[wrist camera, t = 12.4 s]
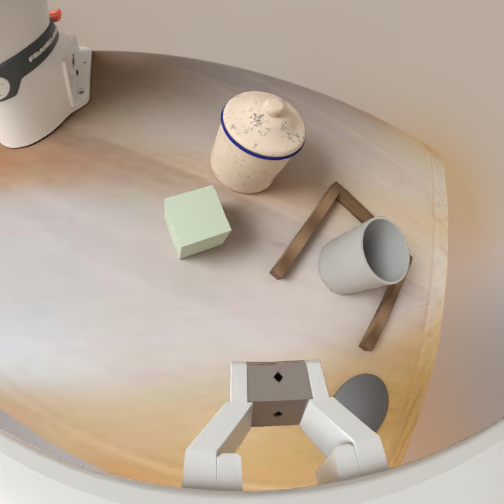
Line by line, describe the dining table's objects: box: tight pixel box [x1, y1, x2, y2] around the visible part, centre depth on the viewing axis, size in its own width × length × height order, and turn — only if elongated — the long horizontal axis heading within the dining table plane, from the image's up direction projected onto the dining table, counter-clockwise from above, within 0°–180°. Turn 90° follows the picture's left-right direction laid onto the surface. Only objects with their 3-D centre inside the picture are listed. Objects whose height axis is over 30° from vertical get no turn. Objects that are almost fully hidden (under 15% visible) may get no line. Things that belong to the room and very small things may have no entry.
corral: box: [269, 181, 412, 351], centre depth 35 cm, size 16×16×2 cm
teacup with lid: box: [210, 91, 306, 193], centre depth 30 cm, size 12×9×12 cm
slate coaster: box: [334, 374, 388, 432], centre depth 31 cm, size 10×10×1 cm
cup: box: [319, 217, 410, 295], centre depth 31 cm, size 7×10×9 cm
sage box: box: [165, 185, 231, 259], centre depth 28 cm, size 5×5×5 cm
